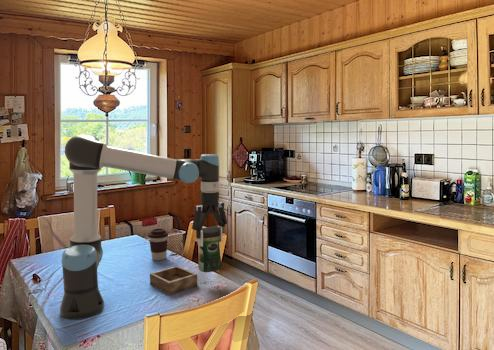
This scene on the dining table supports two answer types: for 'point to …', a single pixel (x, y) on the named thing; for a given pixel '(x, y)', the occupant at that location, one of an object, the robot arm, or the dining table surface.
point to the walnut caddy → (173, 280)
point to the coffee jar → (210, 250)
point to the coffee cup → (158, 243)
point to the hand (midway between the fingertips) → (210, 243)
